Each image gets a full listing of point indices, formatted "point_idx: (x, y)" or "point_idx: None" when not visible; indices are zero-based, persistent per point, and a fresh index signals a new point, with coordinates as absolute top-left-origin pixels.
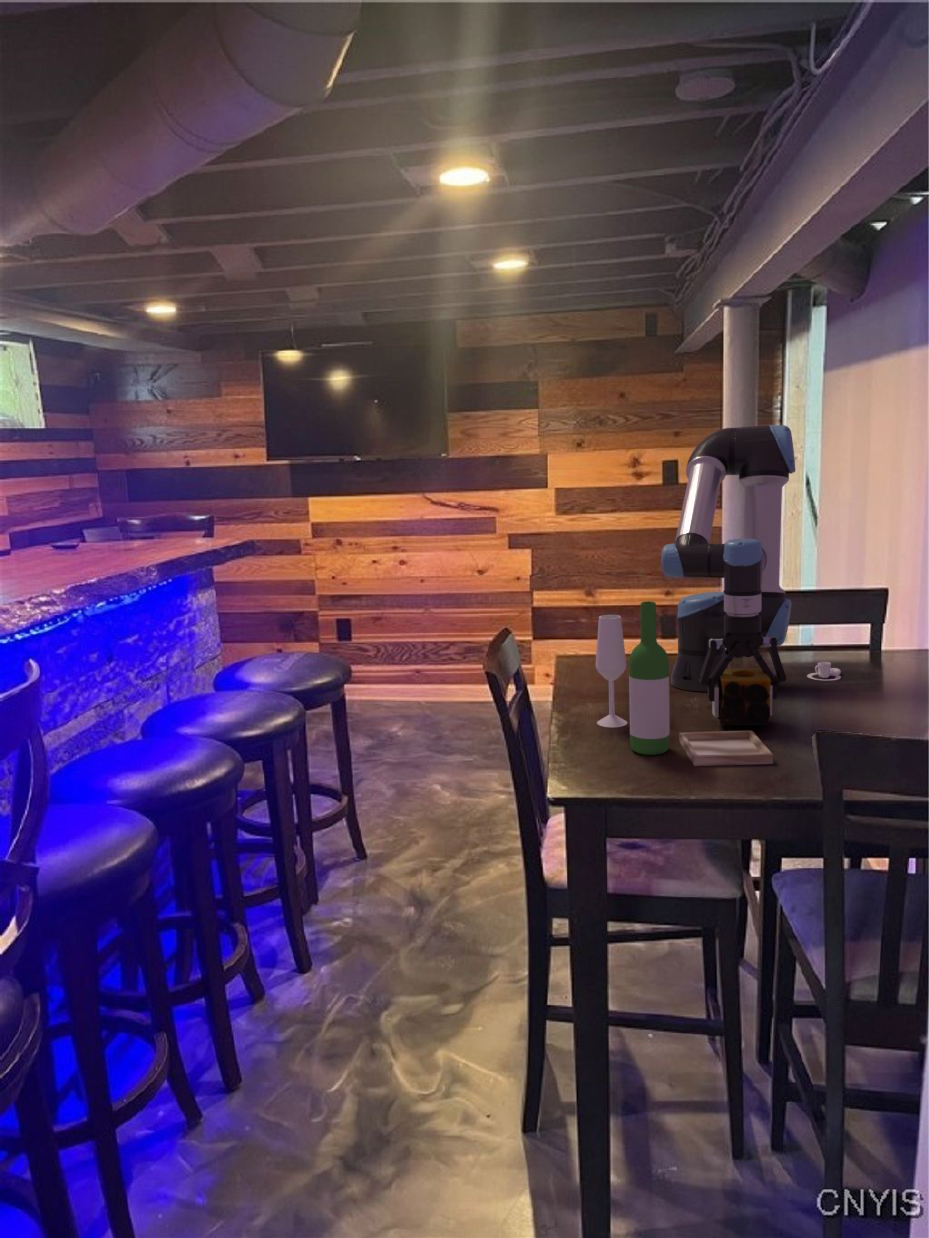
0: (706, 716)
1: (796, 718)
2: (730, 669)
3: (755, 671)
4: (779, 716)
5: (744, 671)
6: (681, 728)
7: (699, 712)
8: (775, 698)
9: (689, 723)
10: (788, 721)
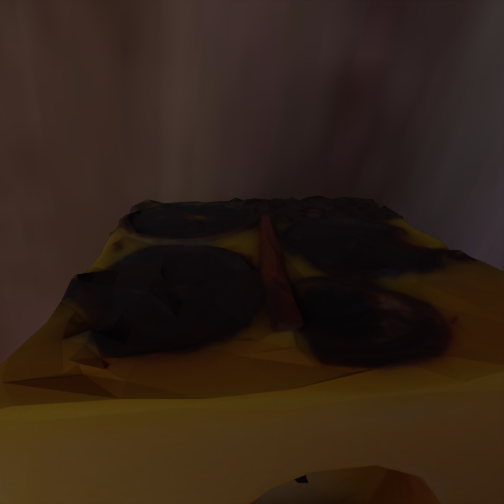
0: (97, 156)
1: (495, 182)
2: (190, 446)
3: (482, 483)
4: (440, 152)
5: (366, 458)
6: (8, 331)
7: (49, 73)
8: None
9: (29, 268)
10: (445, 225)
